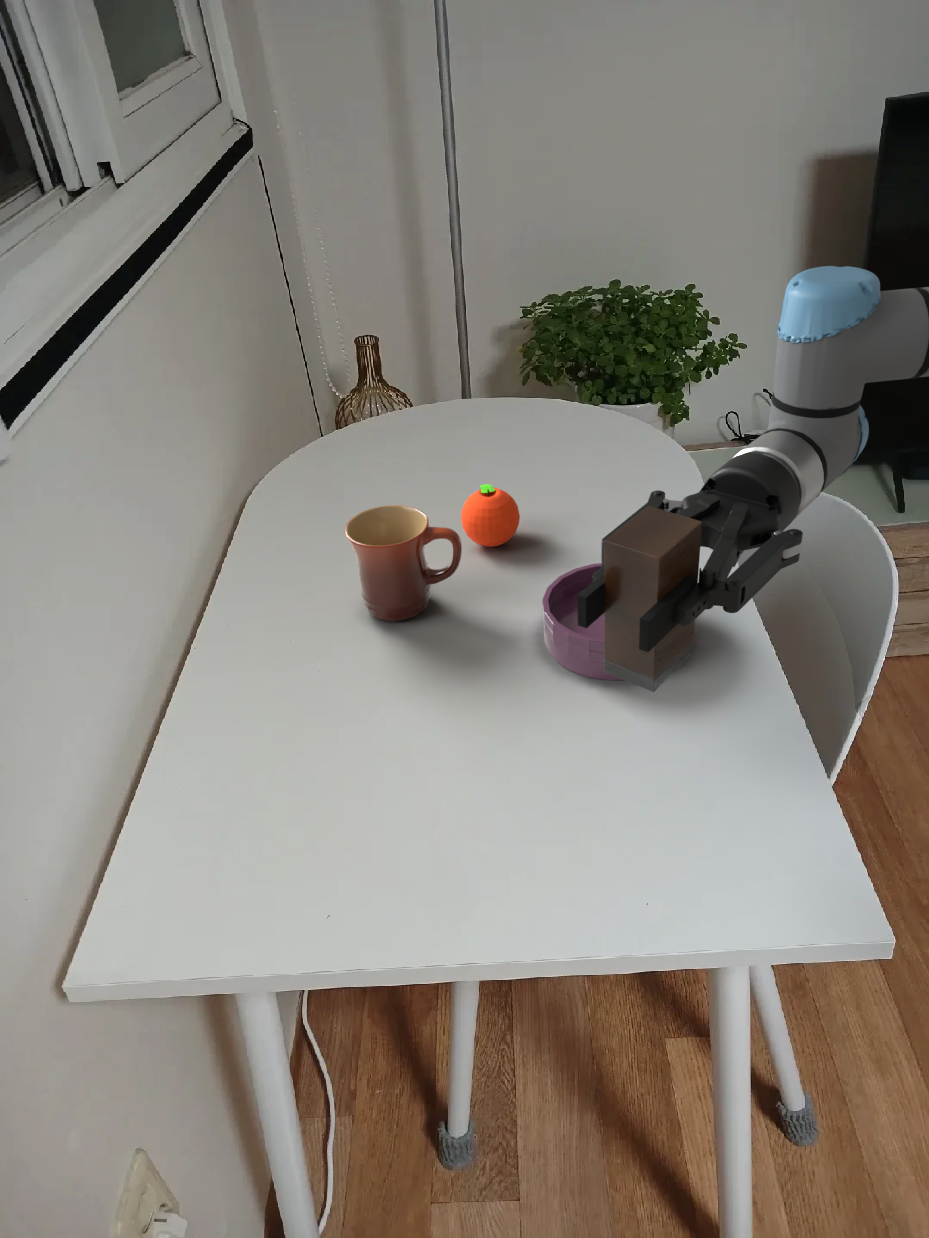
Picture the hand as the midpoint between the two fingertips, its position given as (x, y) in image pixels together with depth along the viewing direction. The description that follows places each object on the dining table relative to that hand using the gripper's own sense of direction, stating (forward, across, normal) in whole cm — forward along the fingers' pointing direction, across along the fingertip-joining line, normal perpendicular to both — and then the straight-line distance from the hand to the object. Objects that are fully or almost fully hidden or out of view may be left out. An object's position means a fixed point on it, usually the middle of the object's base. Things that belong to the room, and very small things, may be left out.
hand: (612, 623), depth 68 cm
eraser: (-5, 0, -7) cm, 9 cm away
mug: (-12, +33, -19) cm, 40 cm away
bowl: (-20, +12, -18) cm, 29 cm away
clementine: (-28, +35, -19) cm, 48 cm away
